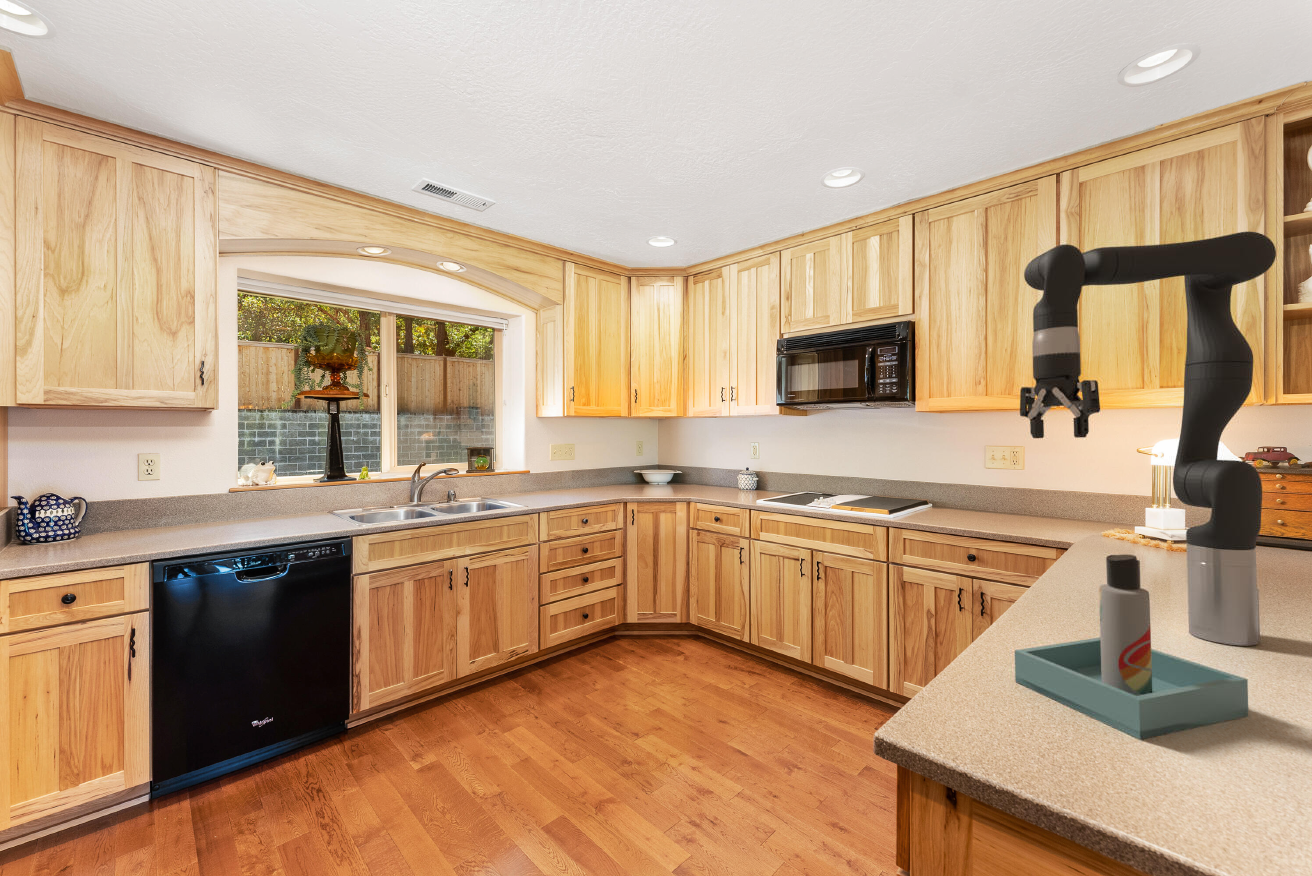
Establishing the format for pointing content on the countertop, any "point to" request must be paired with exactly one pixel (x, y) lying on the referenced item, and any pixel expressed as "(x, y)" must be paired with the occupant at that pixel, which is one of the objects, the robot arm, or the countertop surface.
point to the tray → (1173, 705)
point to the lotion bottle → (1125, 627)
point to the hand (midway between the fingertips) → (1058, 437)
